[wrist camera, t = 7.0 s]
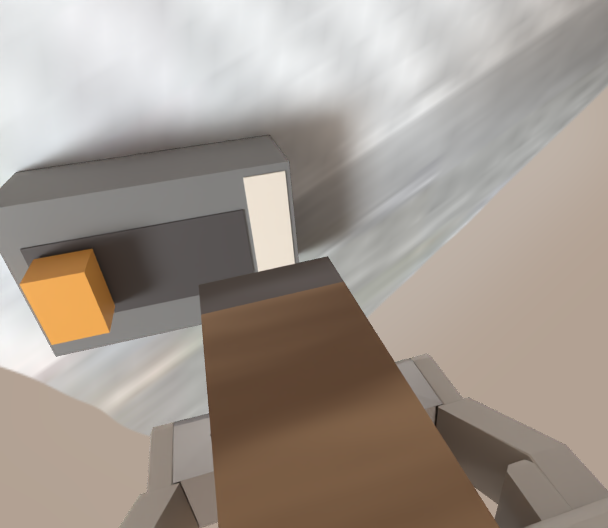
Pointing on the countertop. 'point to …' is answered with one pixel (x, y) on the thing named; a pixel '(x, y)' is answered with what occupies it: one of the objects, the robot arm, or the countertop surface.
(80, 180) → the switch box
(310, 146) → the countertop surface
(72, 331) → the switch tab
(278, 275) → the brown wooden block
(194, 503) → the robot arm
